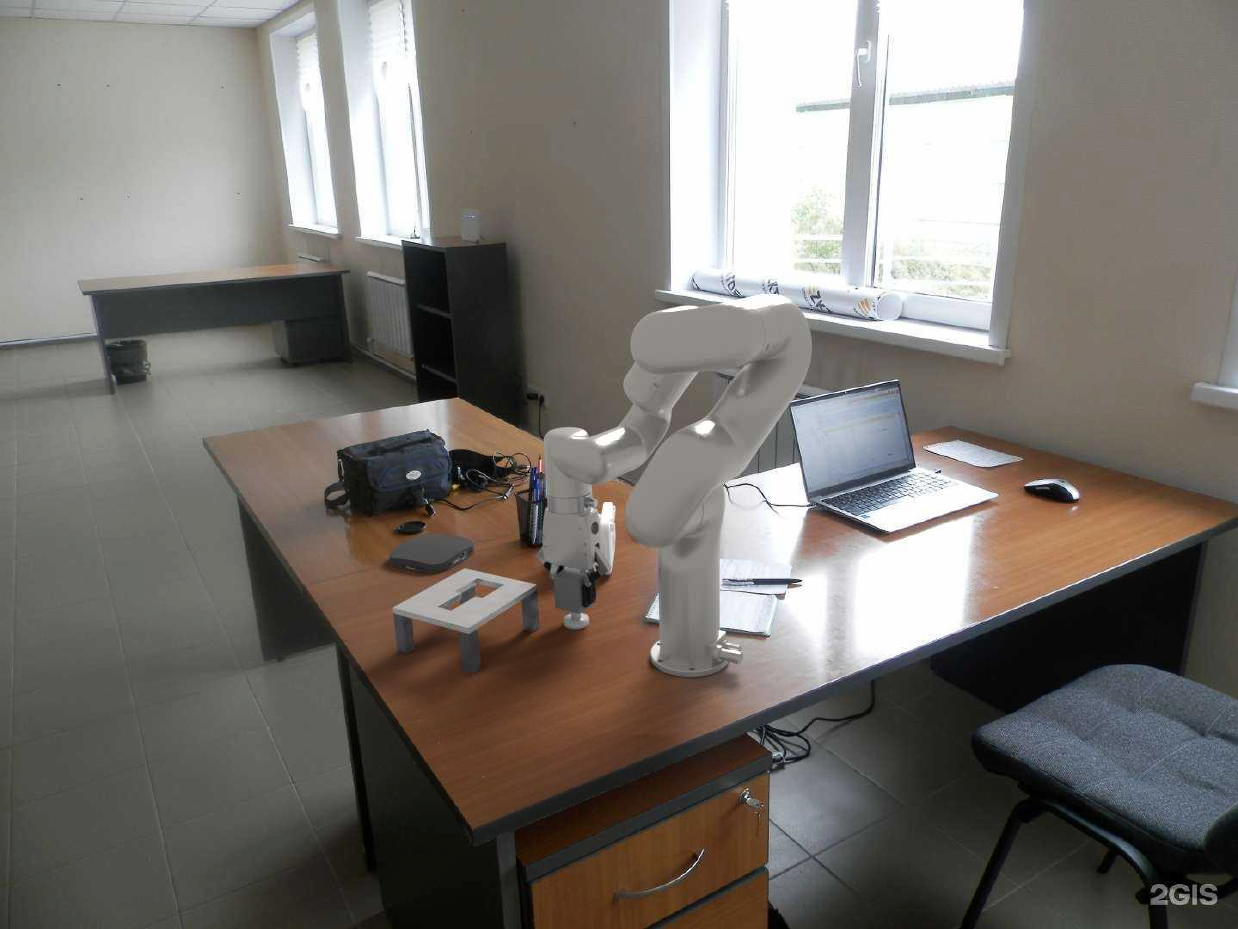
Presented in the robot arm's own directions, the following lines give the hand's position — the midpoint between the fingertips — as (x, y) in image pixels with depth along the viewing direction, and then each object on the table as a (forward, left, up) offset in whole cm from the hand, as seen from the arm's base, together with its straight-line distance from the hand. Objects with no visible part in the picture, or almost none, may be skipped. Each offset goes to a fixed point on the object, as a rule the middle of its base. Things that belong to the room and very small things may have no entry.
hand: (575, 600), depth 155 cm
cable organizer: (+12, -23, -5) cm, 26 cm away
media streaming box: (+44, -12, -5) cm, 46 cm away
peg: (0, 0, -4) cm, 4 cm away
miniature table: (+13, +13, -4) cm, 19 cm away
